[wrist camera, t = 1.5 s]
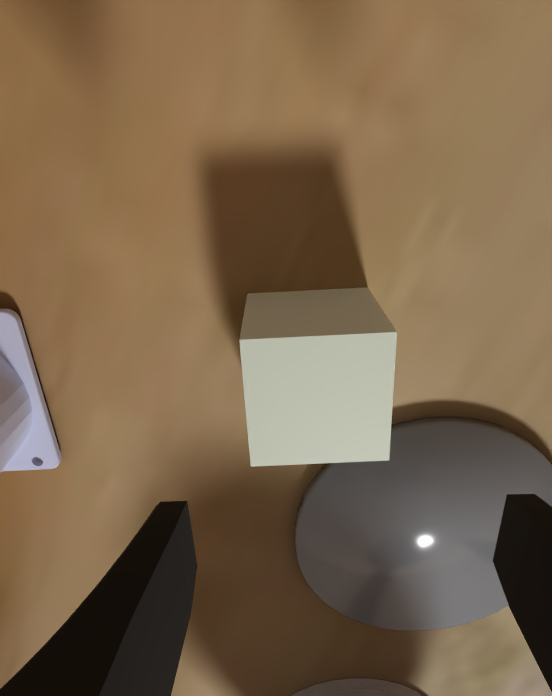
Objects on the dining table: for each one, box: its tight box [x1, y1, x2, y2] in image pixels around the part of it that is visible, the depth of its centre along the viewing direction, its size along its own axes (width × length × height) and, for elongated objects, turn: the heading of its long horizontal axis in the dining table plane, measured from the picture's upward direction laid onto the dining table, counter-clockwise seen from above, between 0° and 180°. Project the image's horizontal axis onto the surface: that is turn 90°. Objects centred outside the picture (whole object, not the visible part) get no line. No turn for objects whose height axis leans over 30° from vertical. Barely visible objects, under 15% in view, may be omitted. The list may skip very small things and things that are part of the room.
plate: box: [295, 417, 552, 631], centre depth 24 cm, size 14×14×1 cm
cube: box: [239, 287, 397, 467], centre depth 18 cm, size 5×5×5 cm
